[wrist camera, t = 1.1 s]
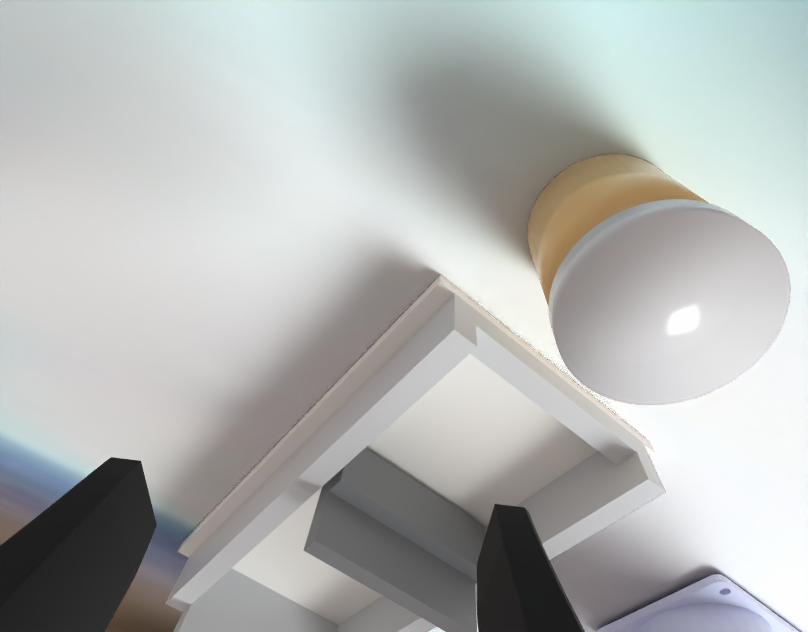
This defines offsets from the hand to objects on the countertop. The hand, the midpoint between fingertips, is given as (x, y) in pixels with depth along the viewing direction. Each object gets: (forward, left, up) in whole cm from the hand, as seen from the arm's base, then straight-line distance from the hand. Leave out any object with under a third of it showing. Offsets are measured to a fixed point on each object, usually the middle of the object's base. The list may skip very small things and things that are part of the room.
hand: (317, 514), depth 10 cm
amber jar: (-4, -7, -10) cm, 13 cm away
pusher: (-7, +7, -10) cm, 14 cm away
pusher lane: (-7, +9, -10) cm, 16 cm away
